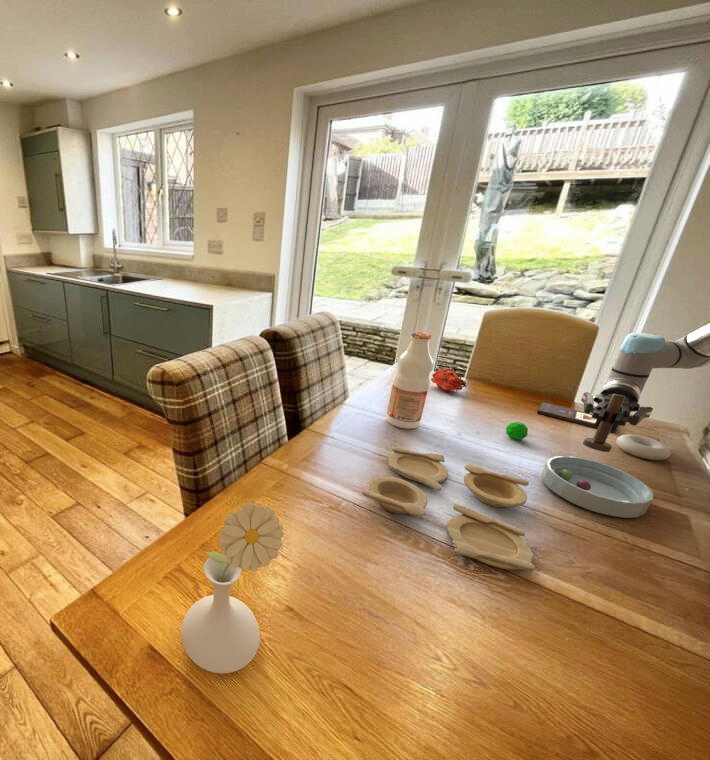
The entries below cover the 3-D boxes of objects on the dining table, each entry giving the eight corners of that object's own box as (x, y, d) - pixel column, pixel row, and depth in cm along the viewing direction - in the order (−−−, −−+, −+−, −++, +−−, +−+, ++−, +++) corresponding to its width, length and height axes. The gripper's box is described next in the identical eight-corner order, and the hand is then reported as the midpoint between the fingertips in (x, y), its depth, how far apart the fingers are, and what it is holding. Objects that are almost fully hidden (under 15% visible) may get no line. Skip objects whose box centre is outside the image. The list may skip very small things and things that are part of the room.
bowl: (646, 496, 88) (655, 480, 86) (640, 533, 78) (650, 515, 76) (549, 463, 100) (555, 448, 98) (532, 490, 90) (538, 474, 88)
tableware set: (531, 593, 65) (539, 574, 63) (352, 517, 81) (355, 501, 80) (529, 487, 91) (534, 472, 89) (394, 446, 107) (396, 433, 106)
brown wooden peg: (612, 450, 98) (636, 397, 94) (606, 453, 95) (630, 399, 91) (586, 441, 102) (608, 391, 98) (579, 444, 99) (602, 392, 95)
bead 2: (578, 487, 90) (592, 490, 88) (574, 490, 89) (588, 494, 87) (578, 477, 90) (592, 480, 88) (574, 480, 89) (588, 484, 87)
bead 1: (564, 481, 93) (556, 478, 93) (563, 471, 94) (555, 468, 93) (575, 481, 91) (567, 478, 90) (575, 471, 92) (567, 468, 91)
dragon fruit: (427, 387, 150) (459, 402, 142) (422, 379, 144) (454, 394, 136) (441, 368, 149) (474, 383, 141) (436, 360, 144) (470, 374, 135)
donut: (626, 440, 111) (605, 446, 108) (631, 429, 110) (610, 435, 107) (675, 459, 103) (654, 466, 99) (682, 447, 101) (661, 454, 98)
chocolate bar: (542, 401, 132) (616, 419, 120) (541, 404, 132) (615, 422, 121) (538, 410, 126) (616, 429, 114) (537, 412, 127) (615, 432, 115)
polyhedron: (529, 442, 109) (535, 427, 108) (511, 442, 110) (516, 427, 108) (516, 433, 114) (521, 419, 112) (499, 433, 114) (504, 418, 112)
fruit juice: (378, 417, 123) (395, 330, 113) (404, 413, 126) (422, 328, 115) (399, 431, 115) (420, 338, 104) (426, 427, 117) (449, 336, 107)
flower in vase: (172, 672, 53) (167, 527, 44) (190, 598, 64) (189, 468, 54) (269, 692, 51) (286, 543, 42) (271, 612, 61) (285, 479, 52)
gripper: (653, 419, 103) (646, 450, 89) (576, 400, 114) (559, 425, 100) (666, 393, 100) (661, 421, 86) (586, 376, 111) (570, 398, 97)
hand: (606, 423), depth 93 cm, fingers closed on brown wooden peg, 2 cm apart
